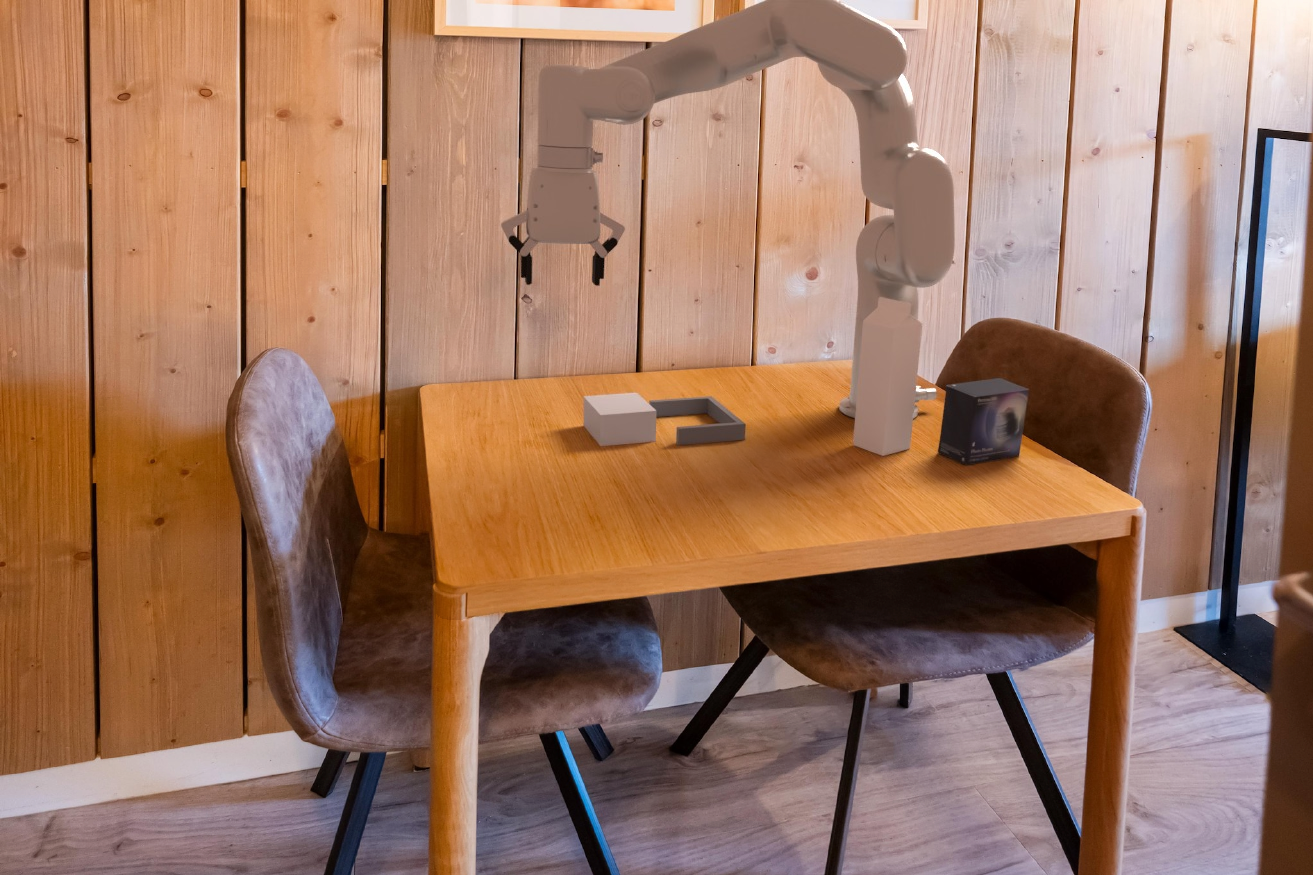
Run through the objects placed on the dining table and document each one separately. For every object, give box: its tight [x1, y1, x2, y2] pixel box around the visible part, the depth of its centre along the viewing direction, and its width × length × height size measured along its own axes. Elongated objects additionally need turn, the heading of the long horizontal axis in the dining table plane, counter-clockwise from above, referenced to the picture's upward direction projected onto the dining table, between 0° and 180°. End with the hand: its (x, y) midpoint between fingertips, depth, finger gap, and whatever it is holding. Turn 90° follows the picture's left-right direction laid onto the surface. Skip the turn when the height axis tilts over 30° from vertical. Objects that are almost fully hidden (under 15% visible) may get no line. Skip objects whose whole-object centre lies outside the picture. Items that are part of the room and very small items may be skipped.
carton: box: [583, 392, 657, 447], centre depth 162 cm, size 8×10×5 cm
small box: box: [937, 377, 1030, 466], centre depth 154 cm, size 11×6×10 cm, turn 117°
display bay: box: [648, 395, 747, 446], centre depth 165 cm, size 10×15×2 cm
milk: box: [852, 297, 923, 457], centre depth 155 cm, size 6×6×22 cm
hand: (562, 283), depth 153 cm, fingers open, 9 cm apart
